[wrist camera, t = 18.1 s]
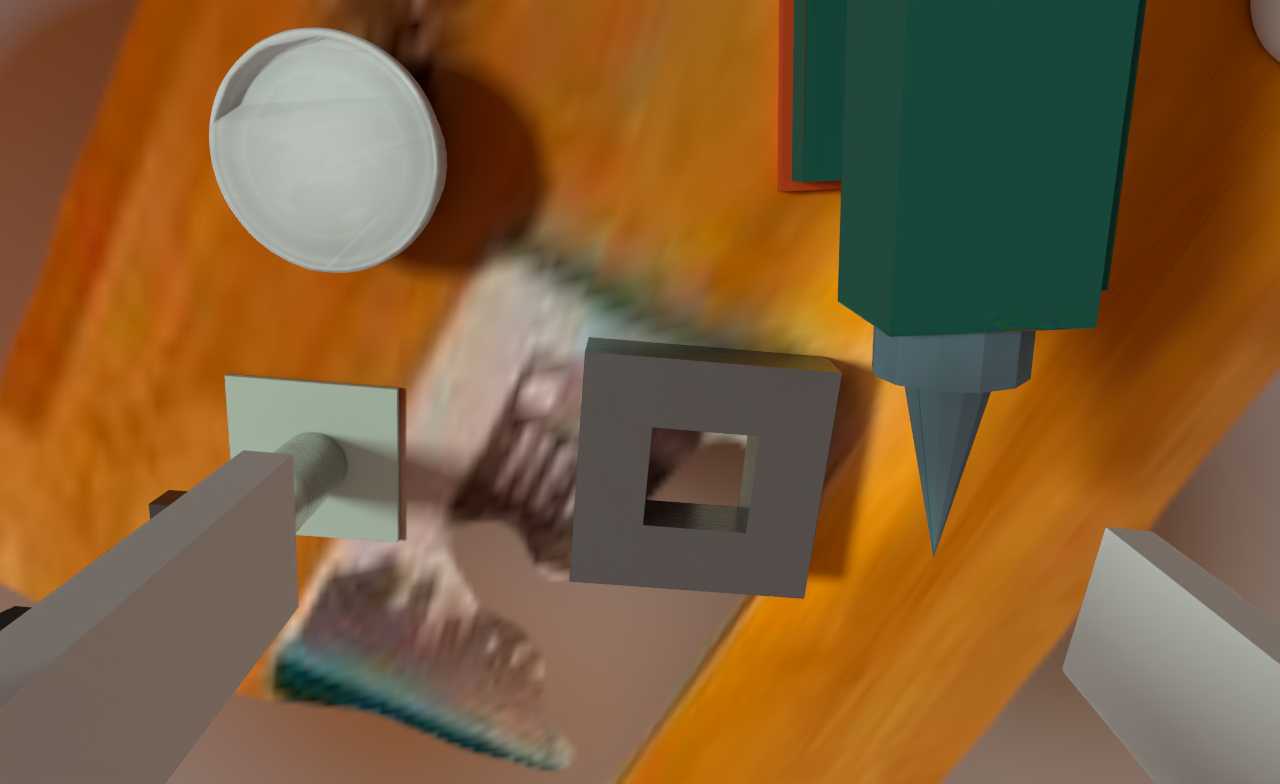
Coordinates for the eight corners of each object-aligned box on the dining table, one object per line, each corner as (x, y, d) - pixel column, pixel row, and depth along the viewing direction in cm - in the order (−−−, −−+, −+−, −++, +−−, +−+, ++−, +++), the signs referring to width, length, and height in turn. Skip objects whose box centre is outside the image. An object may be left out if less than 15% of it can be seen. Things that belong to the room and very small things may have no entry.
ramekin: (361, -4, 39) (321, -29, 34) (507, 170, 42) (489, 172, 37) (214, 140, 41) (156, 137, 36) (362, 299, 44) (326, 317, 39)
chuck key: (284, 520, 47) (128, 676, 33) (278, 397, 45) (108, 506, 31) (349, 525, 47) (222, 683, 33) (346, 402, 45) (209, 514, 31)
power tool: (892, 417, 46) (1075, 598, 27) (775, 422, 46) (875, 606, 27) (926, -209, 37) (1243, -612, 18) (781, -202, 37) (938, -597, 18)
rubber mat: (228, 373, 45) (224, 375, 45) (399, 387, 45) (397, 389, 45) (239, 527, 48) (235, 530, 47) (399, 539, 48) (397, 542, 48)
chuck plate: (588, 337, 44) (585, 351, 41) (826, 357, 45) (842, 373, 41) (573, 552, 48) (569, 581, 45) (792, 568, 49) (804, 598, 45)
